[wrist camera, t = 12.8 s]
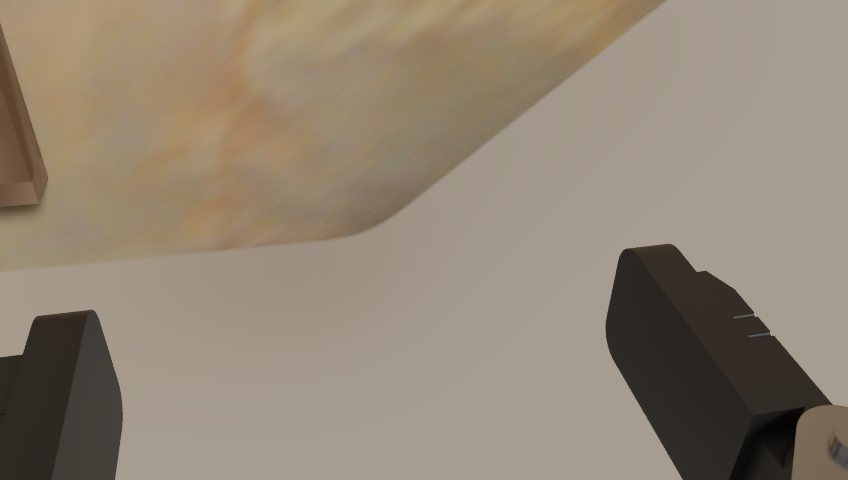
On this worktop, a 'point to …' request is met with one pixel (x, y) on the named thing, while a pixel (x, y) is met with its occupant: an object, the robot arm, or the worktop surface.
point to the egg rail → (17, 141)
